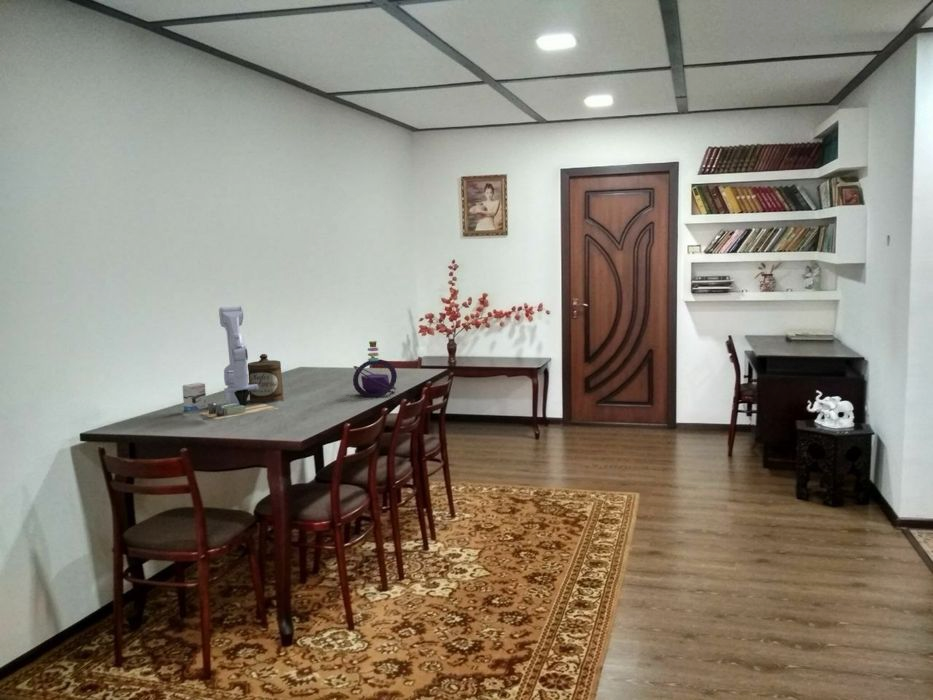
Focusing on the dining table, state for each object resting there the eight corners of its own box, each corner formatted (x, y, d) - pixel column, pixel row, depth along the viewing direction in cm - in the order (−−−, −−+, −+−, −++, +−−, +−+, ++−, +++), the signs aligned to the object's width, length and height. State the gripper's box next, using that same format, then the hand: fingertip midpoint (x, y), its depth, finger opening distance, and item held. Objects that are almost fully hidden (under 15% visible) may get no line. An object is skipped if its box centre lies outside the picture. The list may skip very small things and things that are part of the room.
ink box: (191, 413, 328) (189, 386, 327) (183, 412, 331) (181, 385, 329) (207, 409, 335) (205, 382, 334) (199, 408, 338) (197, 382, 336)
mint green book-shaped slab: (217, 411, 324) (217, 406, 323) (235, 408, 329) (235, 403, 329) (227, 415, 316) (227, 409, 316) (245, 412, 321) (245, 406, 321)
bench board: (198, 415, 323) (198, 413, 323) (260, 405, 341) (260, 403, 341) (216, 421, 309) (215, 419, 309) (279, 410, 327) (279, 408, 327)
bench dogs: (207, 413, 321) (207, 403, 321) (214, 412, 323) (213, 402, 323) (218, 416, 313) (217, 407, 313) (225, 415, 315) (224, 406, 315)
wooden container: (245, 405, 342) (242, 356, 339) (255, 399, 357) (252, 352, 354) (278, 404, 342) (275, 355, 339) (287, 398, 356) (284, 351, 354)
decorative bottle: (344, 397, 353) (341, 344, 350) (361, 389, 373) (358, 338, 370) (390, 398, 347) (388, 343, 344) (405, 390, 368) (403, 338, 365)
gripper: (228, 379, 316) (230, 411, 318) (260, 374, 326) (262, 406, 327) (221, 377, 322) (223, 409, 323) (253, 373, 331) (255, 404, 333)
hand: (242, 407), depth 326 cm, fingers closed
